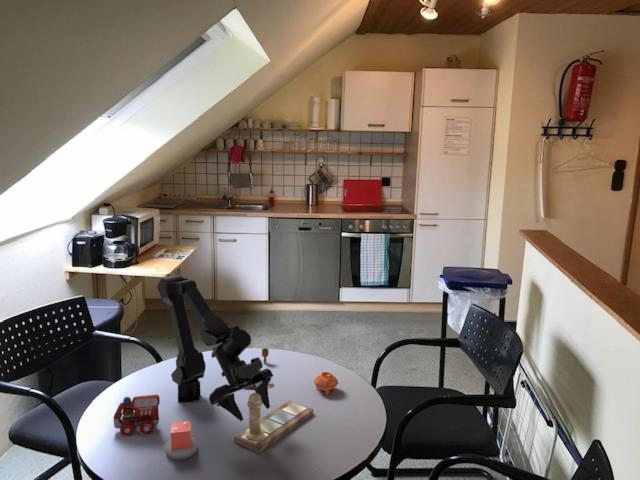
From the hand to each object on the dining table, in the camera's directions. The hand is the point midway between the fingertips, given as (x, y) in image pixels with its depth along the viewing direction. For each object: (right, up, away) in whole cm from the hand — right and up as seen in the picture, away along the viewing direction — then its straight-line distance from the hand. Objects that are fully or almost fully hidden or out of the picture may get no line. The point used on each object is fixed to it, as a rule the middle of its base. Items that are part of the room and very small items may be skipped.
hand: (255, 414), depth 148 cm
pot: (+19, -3, +32) cm, 37 cm away
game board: (+5, -7, +9) cm, 12 cm away
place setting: (-4, -1, +40) cm, 41 cm away
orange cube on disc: (-19, -9, -3) cm, 21 cm away
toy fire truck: (-34, -7, +6) cm, 35 cm away
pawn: (0, -6, +2) cm, 7 cm away
